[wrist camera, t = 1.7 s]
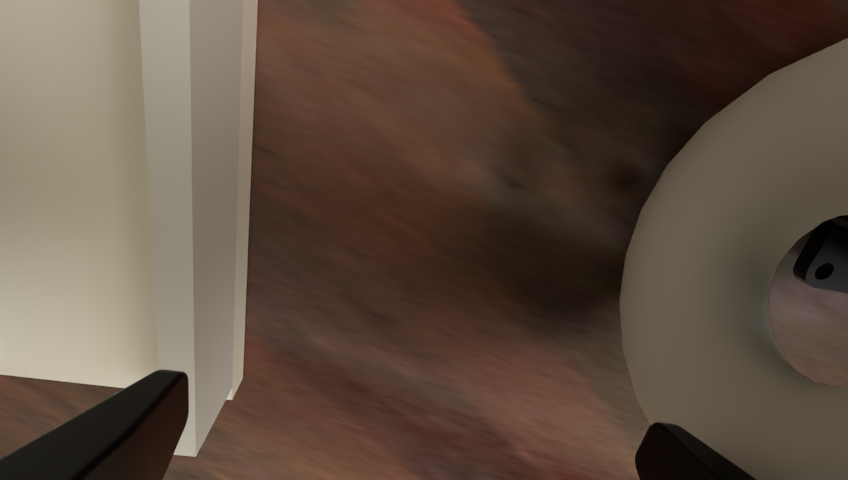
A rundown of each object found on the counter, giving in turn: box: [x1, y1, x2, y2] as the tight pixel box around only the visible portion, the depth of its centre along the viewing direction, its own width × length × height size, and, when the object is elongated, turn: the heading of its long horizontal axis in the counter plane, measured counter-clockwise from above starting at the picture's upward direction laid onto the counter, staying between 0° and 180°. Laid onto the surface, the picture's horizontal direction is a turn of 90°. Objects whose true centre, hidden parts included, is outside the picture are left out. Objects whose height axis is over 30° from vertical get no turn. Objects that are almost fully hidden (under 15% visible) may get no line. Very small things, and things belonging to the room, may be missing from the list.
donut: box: [619, 38, 848, 480], centre depth 8 cm, size 10×4×10 cm, turn 166°
